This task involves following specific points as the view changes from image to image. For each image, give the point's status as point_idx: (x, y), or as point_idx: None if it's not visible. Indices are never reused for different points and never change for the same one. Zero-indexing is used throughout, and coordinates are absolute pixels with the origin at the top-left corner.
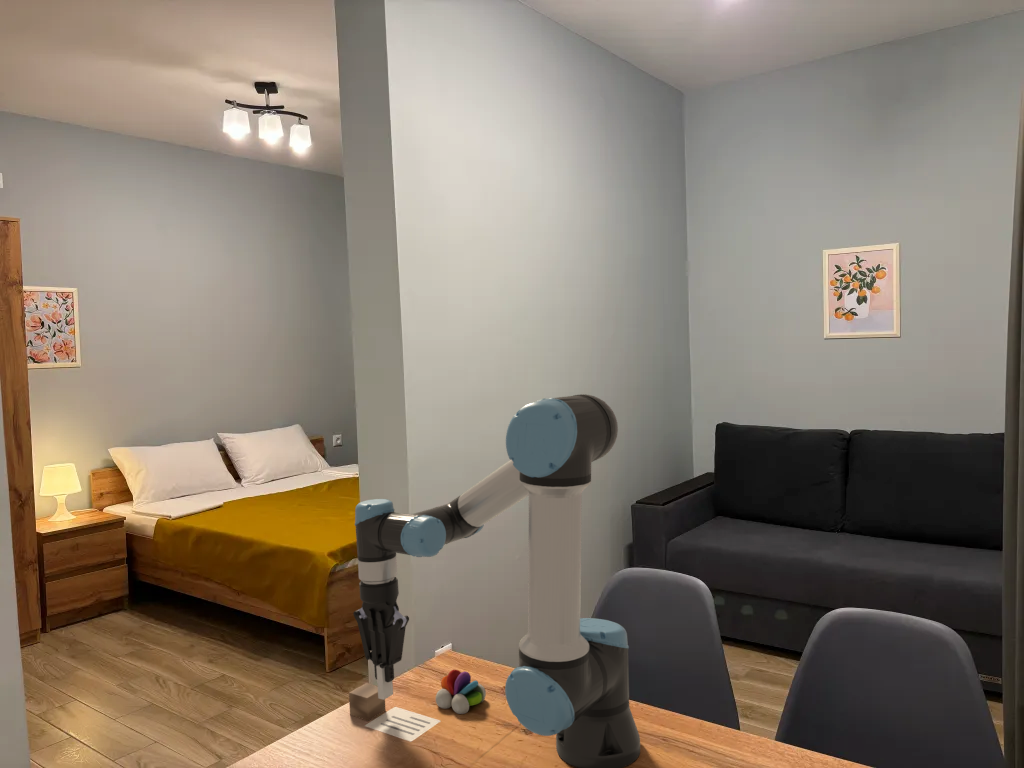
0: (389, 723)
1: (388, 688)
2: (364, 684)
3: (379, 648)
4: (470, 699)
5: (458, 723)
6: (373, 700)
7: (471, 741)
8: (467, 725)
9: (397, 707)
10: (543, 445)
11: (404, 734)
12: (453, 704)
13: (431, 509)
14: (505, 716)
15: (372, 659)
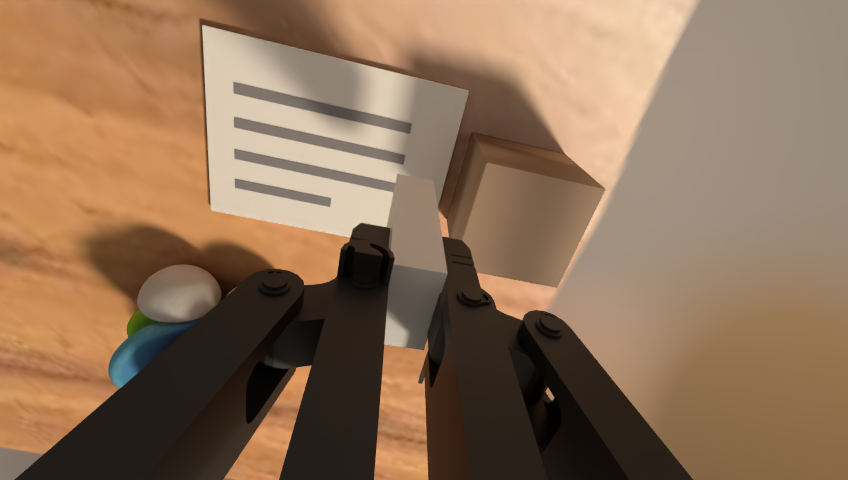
0: (378, 138)
1: (388, 225)
2: (560, 274)
3: (442, 409)
4: (142, 315)
5: (155, 218)
6: (471, 191)
7: (12, 117)
8: (118, 214)
9: None
10: None
11: (268, 75)
12: (188, 280)
13: None
14: (58, 293)
15: (494, 311)
